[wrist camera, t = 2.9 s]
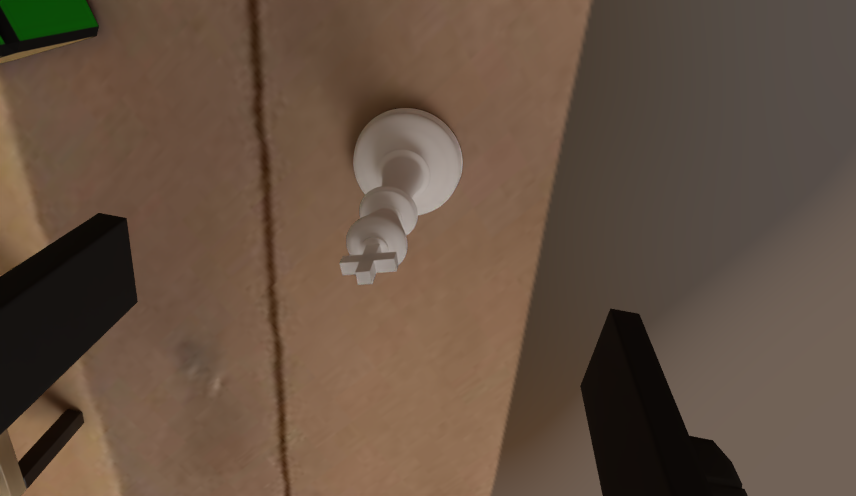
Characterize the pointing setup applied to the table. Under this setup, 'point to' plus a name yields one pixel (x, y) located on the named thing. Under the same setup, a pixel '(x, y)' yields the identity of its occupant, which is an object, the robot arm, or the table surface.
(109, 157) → the table surface
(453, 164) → the chess piece
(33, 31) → the puzzle cube
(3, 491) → the toy table
